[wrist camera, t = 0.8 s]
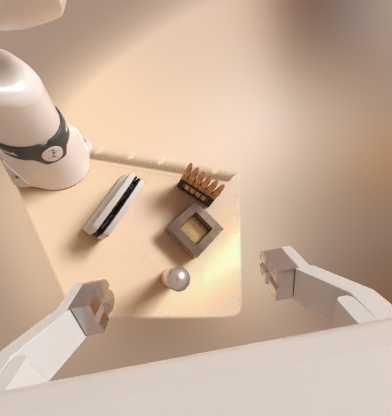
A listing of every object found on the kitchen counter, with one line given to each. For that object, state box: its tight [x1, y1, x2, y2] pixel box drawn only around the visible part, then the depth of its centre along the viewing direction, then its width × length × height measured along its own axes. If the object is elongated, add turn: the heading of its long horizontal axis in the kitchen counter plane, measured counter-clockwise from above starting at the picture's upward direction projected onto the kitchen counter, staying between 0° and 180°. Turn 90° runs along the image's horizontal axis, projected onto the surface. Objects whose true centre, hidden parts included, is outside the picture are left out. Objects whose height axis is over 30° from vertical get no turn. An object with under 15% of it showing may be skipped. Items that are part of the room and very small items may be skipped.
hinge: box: [82, 173, 145, 240], centre depth 42 cm, size 17×5×10 cm, turn 156°
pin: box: [161, 267, 190, 291], centre depth 39 cm, size 4×4×12 cm
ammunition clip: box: [177, 163, 225, 207], centre depth 47 cm, size 11×2×12 cm, turn 61°
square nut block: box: [166, 201, 223, 259], centre depth 47 cm, size 10×10×4 cm
